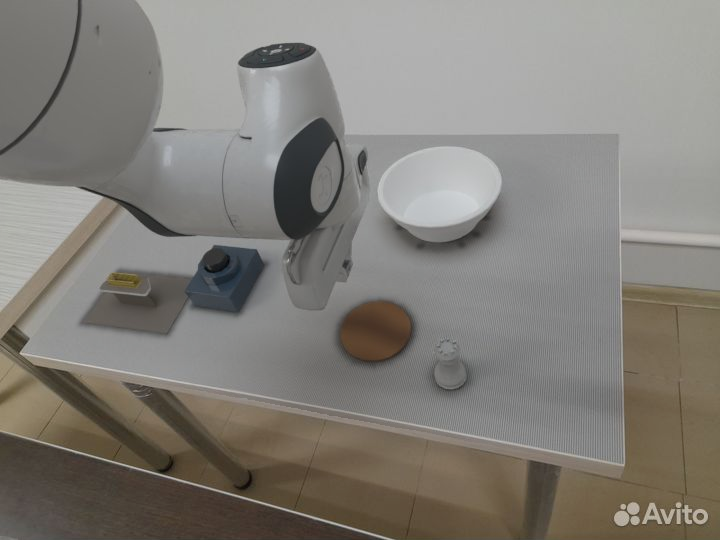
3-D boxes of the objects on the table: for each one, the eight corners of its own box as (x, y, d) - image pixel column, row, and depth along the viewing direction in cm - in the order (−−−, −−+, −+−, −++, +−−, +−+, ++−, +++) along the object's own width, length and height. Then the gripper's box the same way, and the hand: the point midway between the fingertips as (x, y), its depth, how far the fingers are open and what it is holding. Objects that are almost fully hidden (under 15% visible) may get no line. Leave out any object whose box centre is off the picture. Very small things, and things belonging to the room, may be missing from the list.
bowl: (414, 278, 86) (408, 244, 80) (367, 206, 101) (359, 173, 95) (525, 230, 89) (528, 194, 83) (464, 167, 103) (462, 131, 97)
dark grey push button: (222, 274, 88) (218, 266, 86) (202, 271, 89) (197, 263, 87) (233, 257, 90) (228, 248, 88) (213, 254, 91) (209, 246, 90)
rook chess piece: (429, 385, 73) (424, 354, 67) (440, 359, 75) (436, 327, 70) (460, 395, 71) (457, 364, 65) (470, 368, 74) (469, 336, 68)
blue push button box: (238, 312, 89) (225, 290, 84) (194, 306, 92) (179, 284, 87) (264, 264, 95) (253, 242, 91) (222, 260, 98) (210, 237, 94)
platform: (119, 272, 101) (100, 249, 97) (198, 279, 96) (182, 255, 91) (83, 322, 94) (61, 299, 89) (166, 333, 89) (148, 310, 84)
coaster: (401, 367, 76) (400, 365, 75) (331, 355, 79) (330, 353, 79) (418, 307, 82) (418, 305, 82) (353, 299, 86) (352, 297, 86)
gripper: (313, 263, 50) (342, 344, 60) (370, 137, 62) (386, 221, 72) (255, 257, 52) (293, 336, 62) (321, 136, 64) (344, 218, 74)
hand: (344, 273), depth 67 cm, fingers closed
